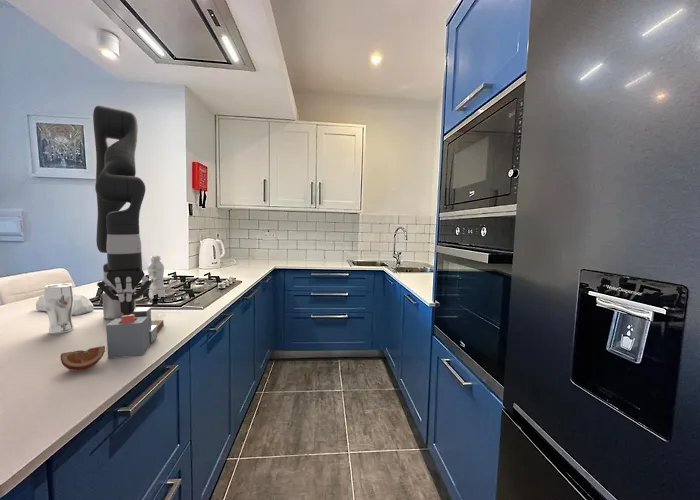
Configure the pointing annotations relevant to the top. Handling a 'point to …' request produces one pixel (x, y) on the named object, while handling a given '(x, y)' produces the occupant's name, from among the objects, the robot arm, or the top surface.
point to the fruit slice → (82, 358)
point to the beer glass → (59, 307)
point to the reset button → (127, 318)
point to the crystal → (79, 305)
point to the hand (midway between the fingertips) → (127, 314)
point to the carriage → (152, 329)
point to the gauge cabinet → (127, 338)
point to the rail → (158, 324)
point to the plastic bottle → (156, 277)
